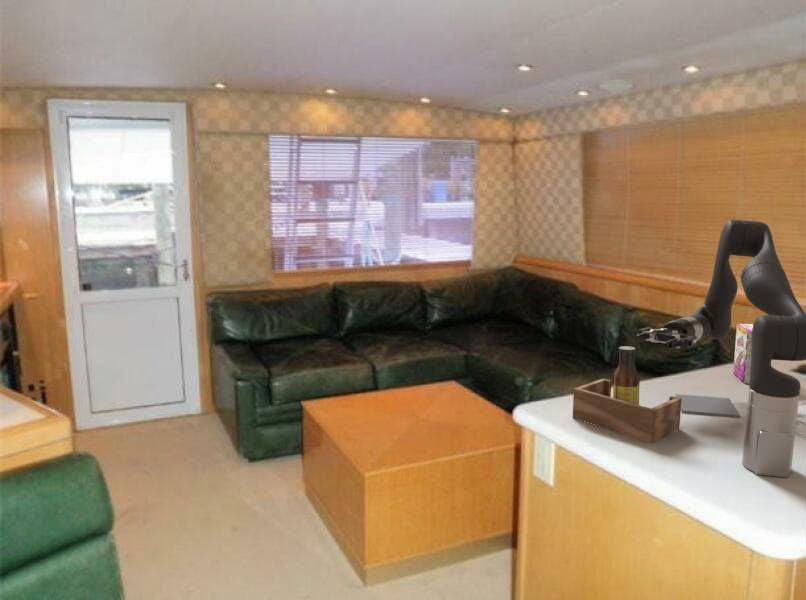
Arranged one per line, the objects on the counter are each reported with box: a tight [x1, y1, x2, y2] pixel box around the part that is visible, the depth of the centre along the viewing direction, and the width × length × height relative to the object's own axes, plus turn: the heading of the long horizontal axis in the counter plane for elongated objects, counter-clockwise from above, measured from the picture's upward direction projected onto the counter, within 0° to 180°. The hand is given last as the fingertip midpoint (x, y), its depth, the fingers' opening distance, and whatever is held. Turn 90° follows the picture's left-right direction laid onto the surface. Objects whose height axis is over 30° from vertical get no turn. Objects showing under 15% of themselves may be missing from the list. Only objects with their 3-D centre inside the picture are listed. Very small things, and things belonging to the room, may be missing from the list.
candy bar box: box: [732, 323, 754, 385], centre depth 198 cm, size 11×5×16 cm, turn 168°
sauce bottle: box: [612, 345, 640, 405], centre depth 162 cm, size 7×6×20 cm
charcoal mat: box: [674, 393, 741, 419], centre depth 176 cm, size 14×14×1 cm
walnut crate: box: [572, 377, 682, 444], centre depth 163 cm, size 13×22×8 cm, turn 40°
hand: (652, 342), depth 167 cm, fingers open, 8 cm apart
